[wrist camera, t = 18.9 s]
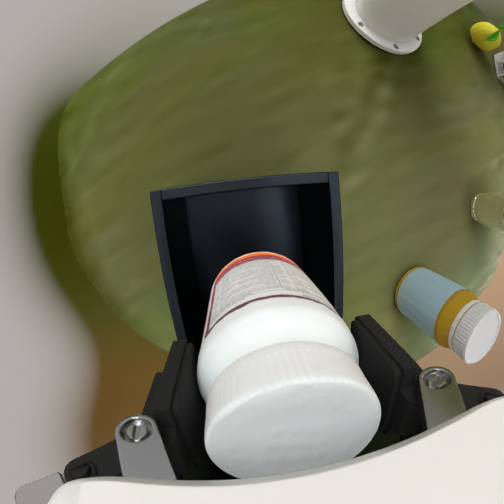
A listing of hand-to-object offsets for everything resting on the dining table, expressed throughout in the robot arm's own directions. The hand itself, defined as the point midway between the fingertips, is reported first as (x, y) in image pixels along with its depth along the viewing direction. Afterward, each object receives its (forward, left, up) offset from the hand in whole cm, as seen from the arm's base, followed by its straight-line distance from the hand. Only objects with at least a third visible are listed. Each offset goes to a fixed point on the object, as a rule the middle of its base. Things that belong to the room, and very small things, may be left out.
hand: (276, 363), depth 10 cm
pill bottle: (0, 0, -7) cm, 7 cm away
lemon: (-34, +44, -21) cm, 59 cm away
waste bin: (0, 0, -21) cm, 21 cm away
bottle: (+8, +22, -21) cm, 32 cm away
